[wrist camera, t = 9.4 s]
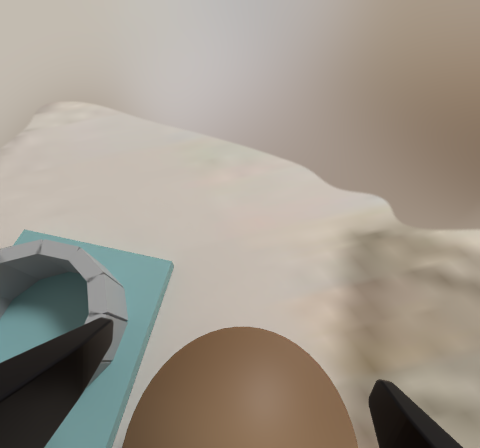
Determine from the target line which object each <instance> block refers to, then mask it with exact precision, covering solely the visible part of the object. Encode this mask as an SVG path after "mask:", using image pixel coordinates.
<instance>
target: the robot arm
mask: <svg viewBox="0 0 480 448" xmlns="http://www.w3.org/2000/svg"><path fill="white" fill-rule="evenodd" d="M113 326H114V322H113V320H112V319H108V318H104V317H100V318H97V319H95V320H93V321H91V322H89V323H87V324H84V325H82V326H80V327H78V328H76V329H73V330H71V331H69V332H67V333H65V334H62V335H60V336H58V337H56V338H54V339H51V340H49V341H47V342H45V343H43V344H40V345H38V346H36V347H34V348H32V349H29V350H27V351H25V352H23V353H21V354H18V355H16V356H14V357H12V358H10V359H8V360H5V361H3V362H1V363H0V448H44V447H45V446H46V445H47V443H48V442H49V440H50V439H51V437H52V436H53V435H54V433H55V432H56V430H57V429H58V428H59V426H60V425H61V423H62V422H63V421H64V419H65V418H66V416H67V415H68V414H69V412H70V411H71V409H72V408H73V407H74V405H75V404H76V402H77V401H78V399H79V398H80V396H81V395H82V394H83V392H84V390H85V389H86V387H87V385H88V384H89V382H90V380H91V379H92V377H93V375H94V373H95V372H96V370H97V368H98V367H99V365H100V363H101V361H102V360H103V358H104V356H105V355H106V353H107V351H108V350H109V348H110V346H111V344H112V340H113ZM369 408H370V412H371V416H372V420H373V424H374V428H375V432H376V437H377V441H378V445H379V448H463V447H462V446H461V445H460V444H459V443H457V442H456V441H455V440H454V439H453V438H452V437H451V436H450V435H449V434H448V433H447V432H445V431H444V430H443V429H442V428H441V427H440V426H439V425H438V424H437V423H436V422H435V421H434V420H432V419H431V418H430V417H429V416H428V415H427V414H426V413H425V412H424V411H423V410H422V409H421V408H419V407H418V406H417V405H416V404H415V403H414V402H413V401H412V400H411V399H410V398H409V397H408V396H406V395H405V394H404V393H403V392H402V391H401V390H400V389H399V388H398V387H397V386H396V385H394V384H393V383H392V382H390V381H386V380H381V379H379V380H377V381H376V383H375V385H374V387H373V389H372V391H371V394H370V396H369Z"/></svg>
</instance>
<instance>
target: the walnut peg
mask: <svg viewBox="0 0 480 448" xmlns="http://www.w3.org/2000/svg"><path fill="white" fill-rule="evenodd" d="M122 448H358V444H357V440H356V437H355V433H354V429H353V426H352V423H351V420H350V417H349V415H348V412H347V410H346V407H345V405H344V403H343V401H342V399H341V397H340V395H339V393H338V391H337V389H336V388H335V386H334V384H333V383H332V381H331V380H330V378H329V377H328V375H327V374H326V373H325V371H324V370H323V369H322V368H321V366H320V365H319V364H318V363H317V362H316V361H315V360H314V359H313V358H312V357H311V356H310V355H309V354H308V353H307V352H306V351H304V350H303V349H302V348H301V347H299V346H298V345H297V344H295V343H293V342H292V341H290V340H289V339H287V338H285V337H283V336H281V335H278V334H276V333H274V332H271V331H267V330H264V329H260V328H253V327H232V328H224V329H220V330H217V331H213V332H210V333H208V334H206V335H203V336H201V337H199V338H197V339H195V340H194V341H192V342H190V343H189V344H187V345H186V346H184V347H183V348H182V349H180V350H179V351H178V352H177V353H175V354H174V355H173V356H172V357H171V358H170V359H169V360H168V361H167V362H166V363H165V364H164V365H163V366H162V368H161V369H160V370H159V371H158V373H157V374H156V375H155V376H154V378H153V379H152V380H151V382H150V384H149V385H148V387H147V388H146V390H145V391H144V393H143V395H142V397H141V399H140V401H139V403H138V405H137V407H136V409H135V411H134V413H133V416H132V418H131V421H130V424H129V426H128V429H127V432H126V436H125V440H124V443H123V447H122Z"/></svg>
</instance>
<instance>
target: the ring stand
mask: <svg viewBox="0 0 480 448" xmlns="http://www.w3.org/2000/svg"><path fill="white" fill-rule="evenodd" d="M173 268H174V265H173V263H172V261H168V260H163V259H159V258H154V257H149V256H145V255H140V254H135V253H131V252H126V251H122V250H117V249H112V248H108V247H103V246H98V245H94V244H89V243H84V242H80V241H75V240H70V239H66V238H61V237H57V236H52V235H47V234H43V233H38V232H33V231H29V230H24V231H23V232H22V234H21V235H20V236H19V238H18V239H17V241H16V242H15V243H14V245H13V246H10V247H6V248H2V249H0V363H1V362H3V361H5V360H8V359H10V358H12V357H14V356H16V355H18V354H21V353H23V352H25V351H27V350H29V349H32V348H34V347H36V346H38V345H40V344H43V343H45V342H47V341H49V340H51V339H54V338H56V337H58V336H60V335H62V334H65V333H67V332H69V331H71V330H73V329H76V328H78V327H80V326H82V325H84V324H87V323H89V322H91V321H93V320H95V319H97V318H100V317H104V318H108V319H112V320H113V322H114V326H113V340H112V344H111V346H110V348H109V350H108V351H107V353H106V355H105V356H104V358H103V360H102V361H101V363H100V365H99V367H98V368H97V370H96V372H95V373H94V375H93V377H92V379H91V380H90V382H89V384H88V385H87V387H86V389H85V390H84V392H83V394H82V395H81V396H80V398H79V399H78V401H77V402H76V404H75V405H74V407H73V408H72V409H71V411H70V412H69V414H68V415H67V416H66V418H65V419H64V421H63V422H62V423H61V425H60V426H59V428H58V429H57V430H56V432H55V433H54V435H53V436H52V437H51V439H50V440H49V442H48V443H47V445H46V446H45V447H44V448H112V445H113V442H114V439H115V436H116V433H117V431H118V428H119V425H120V422H121V419H122V416H123V413H124V410H125V407H126V404H127V401H128V399H129V396H130V393H131V390H132V387H133V384H134V381H135V378H136V375H137V372H138V369H139V367H140V364H141V361H142V358H143V355H144V352H145V349H146V346H147V343H148V340H149V337H150V335H151V332H152V329H153V326H154V323H155V320H156V317H157V314H158V311H159V308H160V305H161V303H162V300H163V297H164V294H165V291H166V288H167V285H168V282H169V279H170V276H171V273H172V271H173Z"/></svg>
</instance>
